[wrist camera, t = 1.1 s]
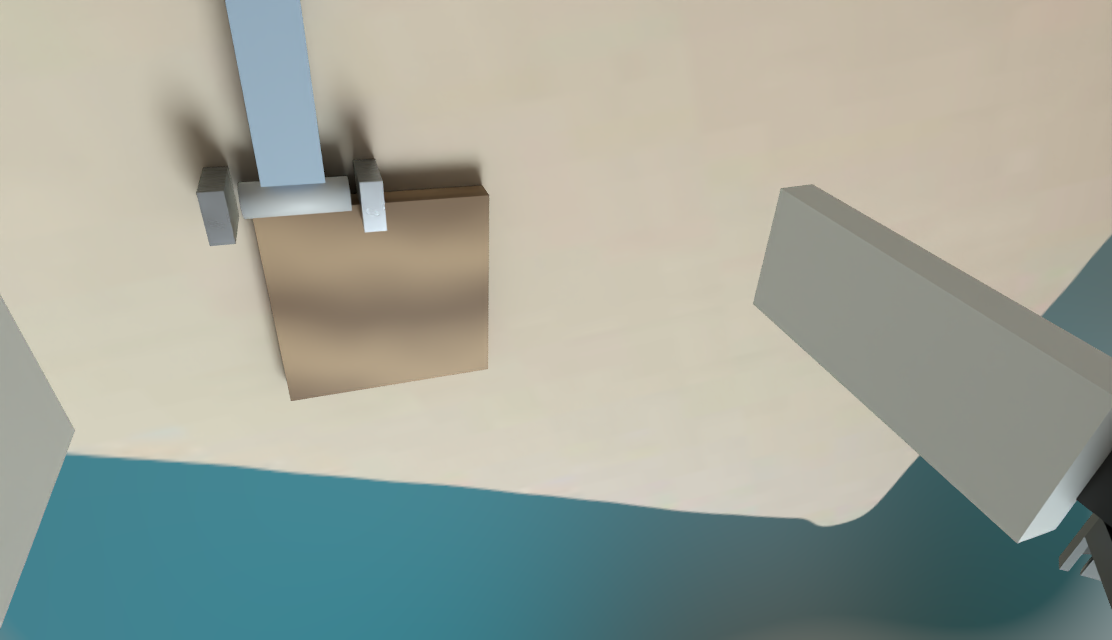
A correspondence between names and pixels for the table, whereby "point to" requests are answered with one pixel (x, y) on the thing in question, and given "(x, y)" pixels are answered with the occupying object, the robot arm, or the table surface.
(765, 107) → the table surface
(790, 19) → the table surface
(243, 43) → the leg
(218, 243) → the hinge cheek
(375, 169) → the hinge cheek
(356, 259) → the board
